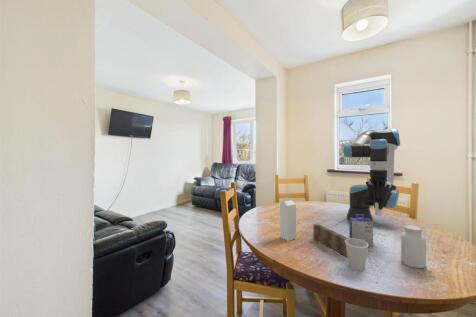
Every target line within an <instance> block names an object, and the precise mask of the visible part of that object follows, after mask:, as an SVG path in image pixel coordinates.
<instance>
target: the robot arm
mask: <svg viewBox="0 0 476 317" xmlns="http://www.w3.org/2000/svg"><path fill="white" fill-rule="evenodd" d="M399 146H401V139H400V133H399V130H398V129H397V128H389V129H388V128H387V129H372V130H366V131H364V132H361V133H360V134H358V135H357V136H356V138H355V141H354V142H353V143H351V144H345V145H344V146H343V148H342V150H343V151H342V152H343V156H344V157H345V158H369V169H370V170H369V177H370V178H369V180H368V181H365V184H354V185H351V186H350V187H349V208H348V211H347V213H346V219H347V220H348V221H349V218H356V214H363V215H364V218H369V219H371V220H372V221H373V222H374V218H373V215H372V213H371V209H370V208H371V206H373V208H374V215H375V216H382V210H383V209H384V208H386V209H395V208H396V207H397V205H398V202H399V197H400V195H399V194H400V190H399V188H397V186H396V185H395V184H394V181H395V180H394V175H395V173H394V172H395V151H396V150H397V149H398V147H399ZM357 217H363V216H361V215H359V216H357Z"/></svg>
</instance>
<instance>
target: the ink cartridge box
mask: <svg viewBox="0 0 476 317" xmlns="http://www.w3.org/2000/svg"><path fill="white" fill-rule="evenodd" d="M359 215H361V216H363V217H357V216H359ZM348 230H349V231H348V234H349V237H348V238H349V239H350V238H354V239H360V240H363V241H365V242H367V243H368V245H369V246H370V247H373V246H374V220H373V221H372V220H371V219H369V218H364V215H363V214H356V218H349V220H348ZM369 246H368V247H369Z"/></svg>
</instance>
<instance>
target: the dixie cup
mask: <svg viewBox="0 0 476 317" xmlns="http://www.w3.org/2000/svg"><path fill="white" fill-rule="evenodd" d="M345 243H346V250H347V257H348V258H347V263H348V264H347V265H348V267H349V268H350V269H352V270H354V271H359V272H360V271H361V272H362V271H365V270H366V263H367V262H366V261H367V255H368V248H369V245H368V243H367V242H365V241H363V240H360V239H354V238H350V239H346V240H345Z"/></svg>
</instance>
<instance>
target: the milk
mask: <svg viewBox="0 0 476 317" xmlns="http://www.w3.org/2000/svg"><path fill="white" fill-rule="evenodd" d="M279 216H280V218H279V219H280V220H279V222H280V225H279V227H280V231H279V232H280V239H282V238H283V239H282V240H284V239H285V241H286V240H287V241H286V242H290V240H291V241H293V239H294V240H297V205H296V203H295V202H294V201H293V197H286V198H283V201H282V202H280V203H279Z"/></svg>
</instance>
